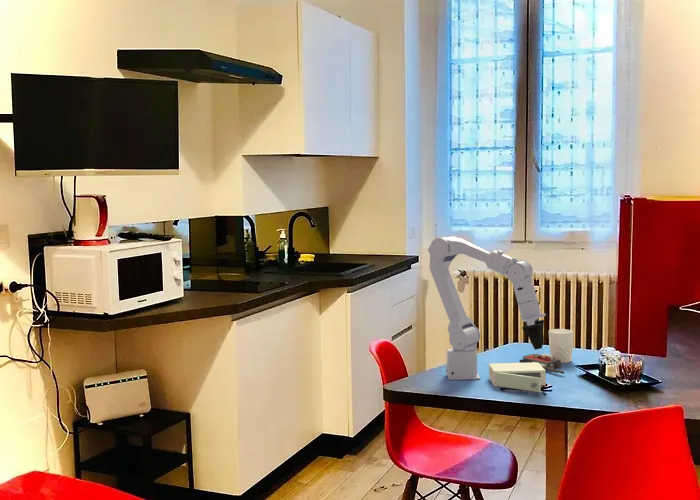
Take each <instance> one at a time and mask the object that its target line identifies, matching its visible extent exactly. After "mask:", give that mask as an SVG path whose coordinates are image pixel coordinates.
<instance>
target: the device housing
mask: <svg viewBox="0 0 700 500" xmlns="http://www.w3.org/2000/svg"><path fill="white" fill-rule="evenodd" d="M498 372H500V373H508V374H516V375H523V376H531V377H538V378H541V386H546V385H547V382H546V374H547V373H546V372H547V371H545V369H544V368H543V367H542V366H541V365H540V364H539V363H538V362H533V363H520V362H501V363H499V362H497V363H488V378H489V380H490V382H491V383H492V385H493V386H494V387H498V386H497V373H498Z"/></svg>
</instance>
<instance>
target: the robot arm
mask: <svg viewBox="0 0 700 500" xmlns="http://www.w3.org/2000/svg"><path fill="white" fill-rule="evenodd" d="M427 249H428V250H427V251H428V253H429V270H430V273H431V276H432V279H433V282H434V284H435V286H436V290H437V292H438V294H439V298H440V300H441V303H442V305H443V307H444V310H445V313H446V315H447V318H448V320H449V321H448V322H449V323H448V326H447V331H448V337H449V338H448V339H449V340H448V341H449V344H450V346H452V347H451V348H448V349H446V368H445V370H446V371H445V374H446V375H447V378H448V380H449V381H453V380H455V381H457V380H460V381H461V380H462V381H463V380H481V377H480V375H479V374H478V347H477V346H478V344H477V343H479V342H480V339H481V332H480V329H479V328H478V327H476V325H475V324H474V321H473V319H471V318H470V317H469V316H468V315H467V313H466V312H465V311H466V310H465V309H464V306H463V303H462V301H461V299H460V295H459V292H458V291H457V288H456V284H455V283H454V281H453V277H452V274H451V272H450V269H449V267H450V266H451V263H452V262H453V260H454V259H456V257H457V256H458V255H465V256H468V257H470V258H472V259H474V260H478V261H480V262H483V263H485V265H486V268H487V269H489V270H491V271H494V272H496V273H498V274H500V275H502V276H505V277H506V278H507V279H508V280H509V281H510V282H511V283H512V286H513V291H514V294H515V298H516V302H517V306H518V309H519V314H520V318H521V322H525V323H526V324H525V326H522V331H523V332H524V333H525V334H526V335H527V336H528V337H527V338H529V341H530V342H531V345H532V347H533V349H534V351H535V350H540V349H543V346H544V345H545V338H544V326H545V325H544V324H545V320H544V319H540V318H543V317H546V313H542V312H541V308H540V305H539V301H538V298H537V294H536V290H535V284H534V282H533V277H532V275H533V271H534V270H533V266H532V265H531V263H529V262H528V261H527V260H525V259H521V260H518V258H517V257H515V256H514V257H512V256H509V255H507V254H504V251H503V250H493V251H491V252H489V251H487V250H485V249H484V248H482V247H479V246H477V245H475V244H473V243H471V242H469V241H467V240H465V239H464V238H462V237H457V236H455V235H449V236H446V237H436V238H434V239H432V241H431V243H430V245H429V247H428V248H427Z"/></svg>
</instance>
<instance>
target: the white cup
mask: <svg viewBox="0 0 700 500" xmlns="http://www.w3.org/2000/svg"><path fill="white" fill-rule="evenodd" d="M548 340H549V341H548V343H549V345H548V346H549V352H550V353H549V354H550V355H553V356H554V358H555V359H557V360H561V364H568V363H569V364H570V363H571V362H572V361H573V357H572V356H573V346H574V330H572V329H565V328H554V329H550V330H548Z"/></svg>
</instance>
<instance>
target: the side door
mask: <svg viewBox="0 0 700 500" xmlns="http://www.w3.org/2000/svg"><path fill="white" fill-rule="evenodd" d="M541 386H542V385H541V378H538V377H531V376H523V375H516V374H508V373H500V372H498V373H497V386H496V387H500V388H507V389H514V390H522V391H527V392H534V393H535V392H536V393H541V392H542V391H541V388H542V387H541Z"/></svg>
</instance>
